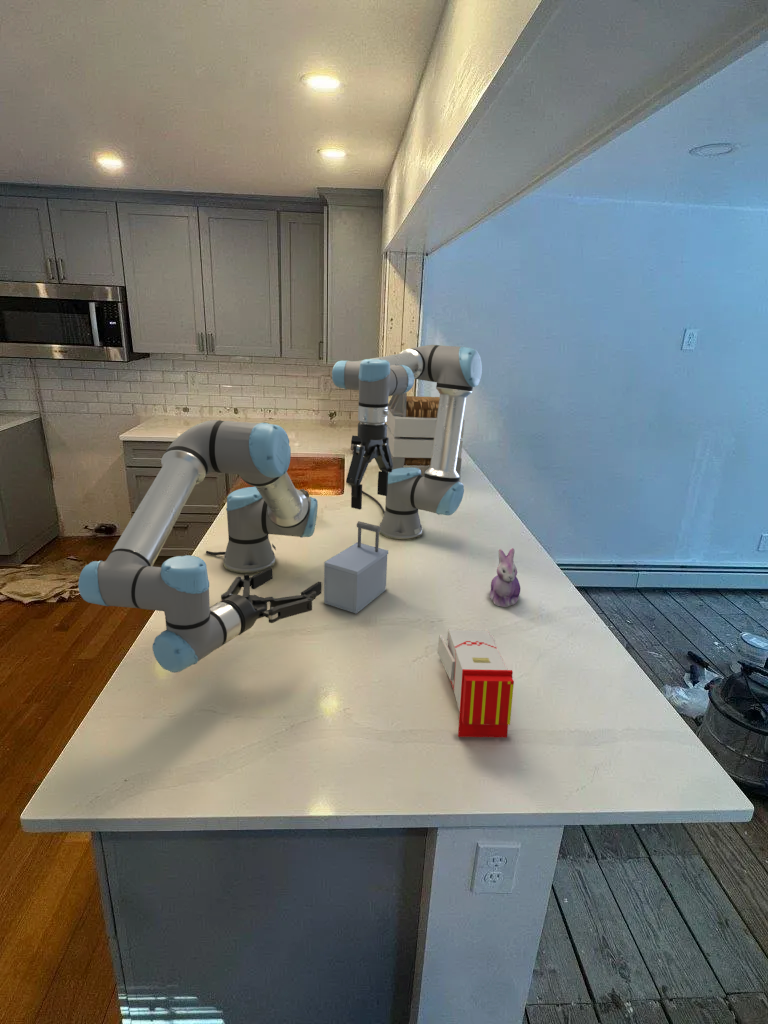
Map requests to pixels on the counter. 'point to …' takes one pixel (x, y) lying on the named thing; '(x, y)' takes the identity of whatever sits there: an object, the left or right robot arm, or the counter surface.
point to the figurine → (505, 581)
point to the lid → (358, 553)
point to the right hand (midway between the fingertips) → (369, 501)
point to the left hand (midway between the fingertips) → (295, 580)
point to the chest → (354, 586)
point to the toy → (478, 682)
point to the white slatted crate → (414, 430)
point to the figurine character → (355, 441)
